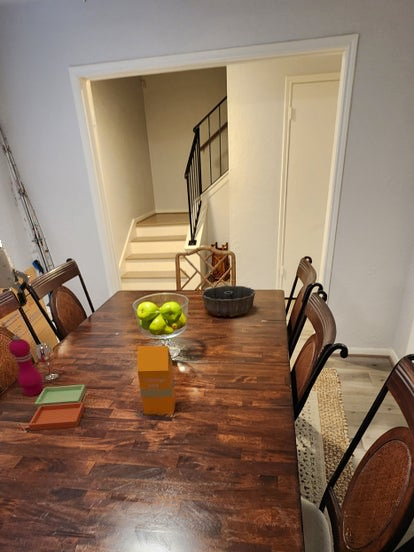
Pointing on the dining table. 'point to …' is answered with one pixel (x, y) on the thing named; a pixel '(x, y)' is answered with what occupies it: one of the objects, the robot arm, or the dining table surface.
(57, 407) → the terracotta tray
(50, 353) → the wineglass
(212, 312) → the bundt pan
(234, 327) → the dining table surface
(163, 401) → the orange juice
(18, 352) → the pepper mill
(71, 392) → the sage tray
